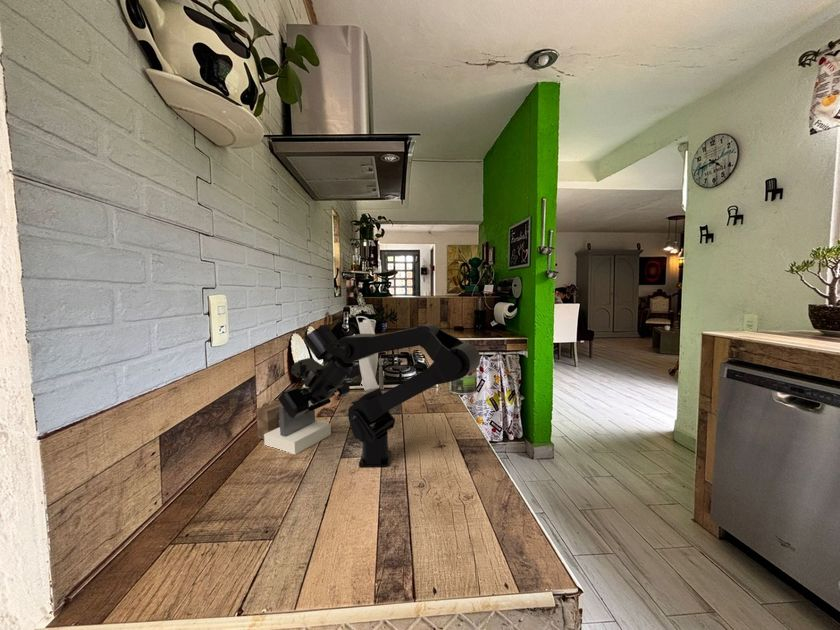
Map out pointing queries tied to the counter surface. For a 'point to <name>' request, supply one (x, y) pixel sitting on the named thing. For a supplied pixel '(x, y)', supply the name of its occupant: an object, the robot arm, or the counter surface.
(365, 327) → the skyscraper
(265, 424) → the block
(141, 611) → the counter surface
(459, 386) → the transparent upright cylinder
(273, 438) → the door block
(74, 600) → the counter surface
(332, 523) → the counter surface
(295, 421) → the grey piece
